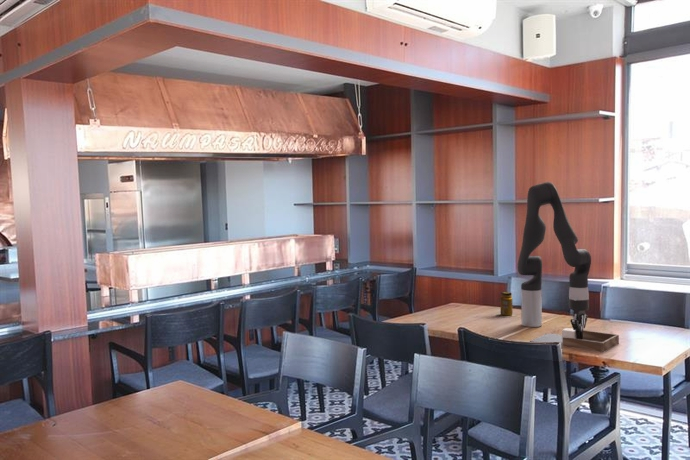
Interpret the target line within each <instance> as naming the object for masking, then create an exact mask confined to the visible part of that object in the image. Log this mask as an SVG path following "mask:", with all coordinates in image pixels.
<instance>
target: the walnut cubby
mask: <svg viewBox="0 0 690 460" xmlns="http://www.w3.org/2000/svg"><path fill="white" fill-rule="evenodd" d="M619 337H620V335H619V334H614V333H607V332H601V331H593V330H585V329H584V330H583V339H589V340H596V341H603V342H595V341H588V340H581V339H574V338H568V337H563V346H562V347H565V346H567V347H566V348H572V347H573V348H574V349H578V348H580V349H579V350H585V349H586V350H585V351H591V350H593V351H594V352H597V351H599V352H598V353H605V352H607V351H609V350H611V349H612V348H614V347H616V346H618V345H619V344H620V339H619ZM617 344H618V345H617ZM615 345H616V346H615ZM613 346H614V347H613ZM611 347H612V348H611ZM573 348H572V349H573ZM610 348H611V349H610ZM608 349H609V350H608ZM606 350H607V351H606ZM593 351H592V352H593ZM604 351H605V352H604Z"/></svg>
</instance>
